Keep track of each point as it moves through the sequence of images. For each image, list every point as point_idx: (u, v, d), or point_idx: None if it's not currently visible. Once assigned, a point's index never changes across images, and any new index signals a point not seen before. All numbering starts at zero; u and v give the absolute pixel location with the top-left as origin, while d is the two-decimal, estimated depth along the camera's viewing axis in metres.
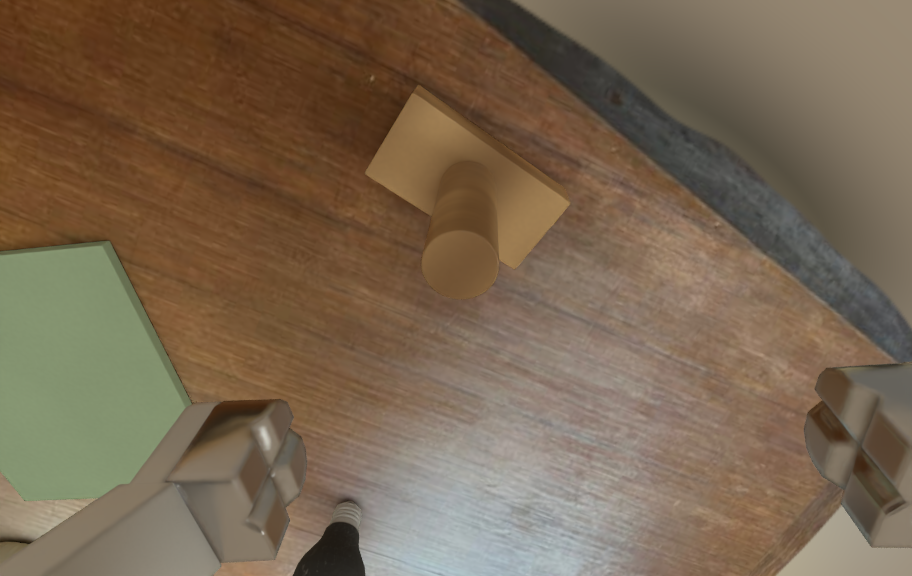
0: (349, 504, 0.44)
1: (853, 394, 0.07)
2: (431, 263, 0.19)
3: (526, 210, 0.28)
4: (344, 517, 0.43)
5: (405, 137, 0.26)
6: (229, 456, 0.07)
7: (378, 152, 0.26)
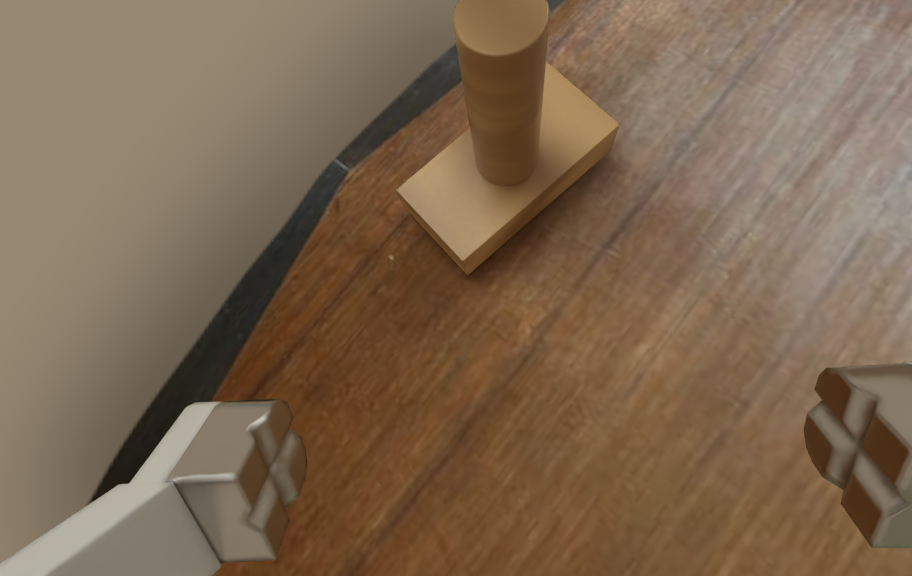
0: None
1: (853, 394, 0.07)
2: (488, 42, 0.16)
3: (545, 104, 0.25)
4: None
5: (436, 207, 0.24)
6: (229, 456, 0.07)
7: (443, 239, 0.24)
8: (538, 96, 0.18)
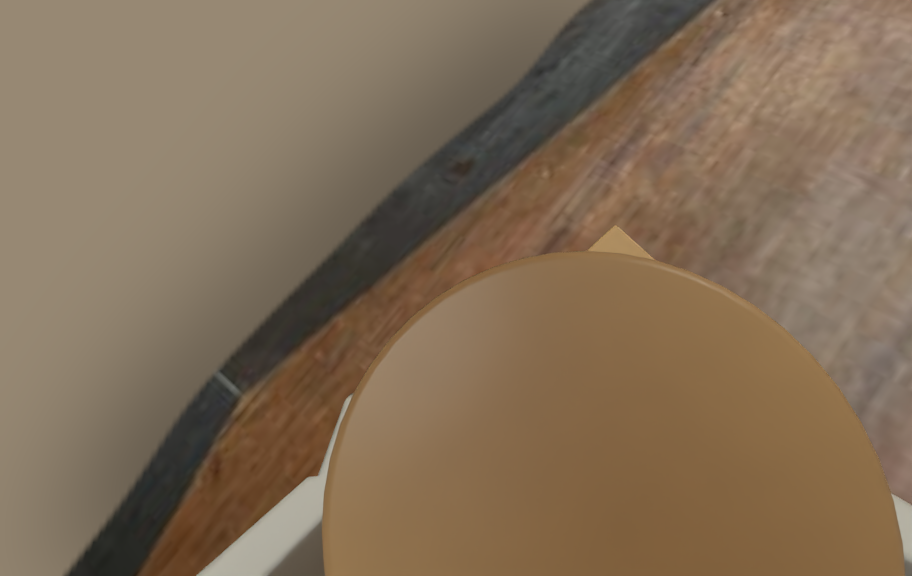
0: None
1: None
2: None
3: None
4: None
5: None
6: None
7: None
8: None
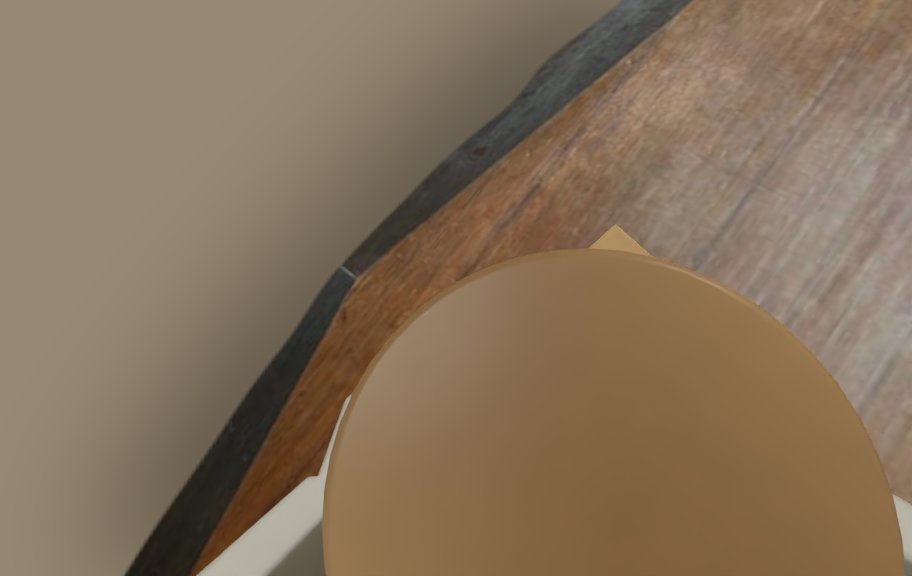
0: None
1: None
2: None
3: None
4: None
5: None
6: None
7: None
8: None
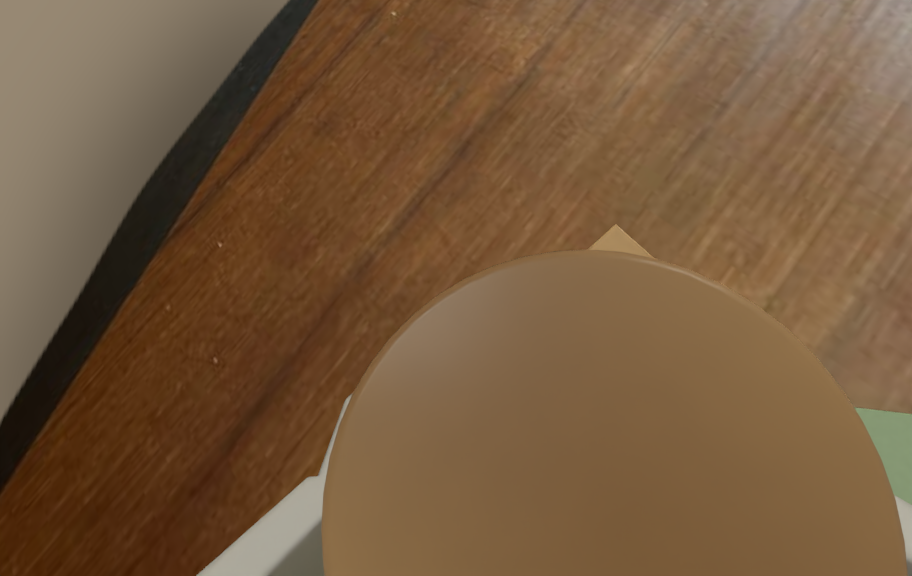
0: None
1: None
2: None
3: None
4: None
5: None
6: None
7: None
8: None
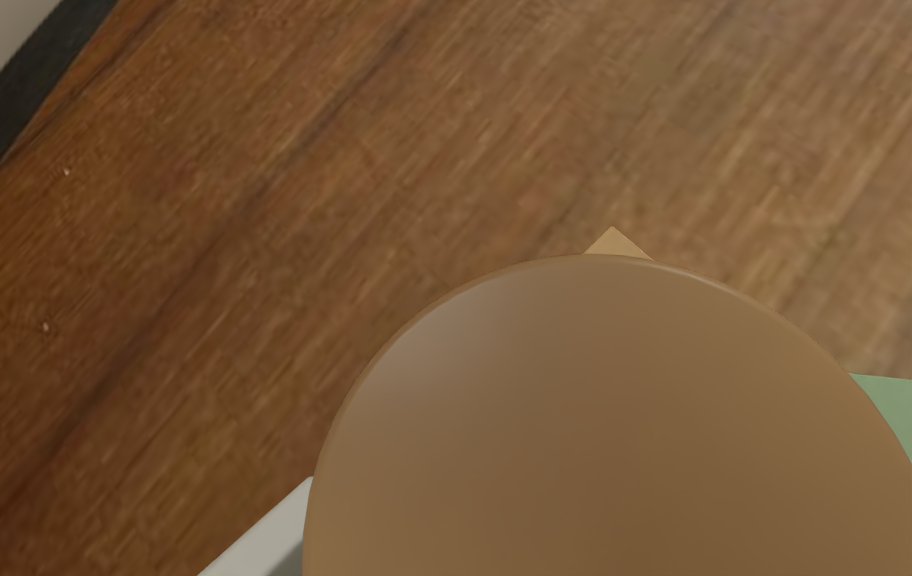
0: None
1: None
2: None
3: None
4: None
5: None
6: None
7: None
8: None
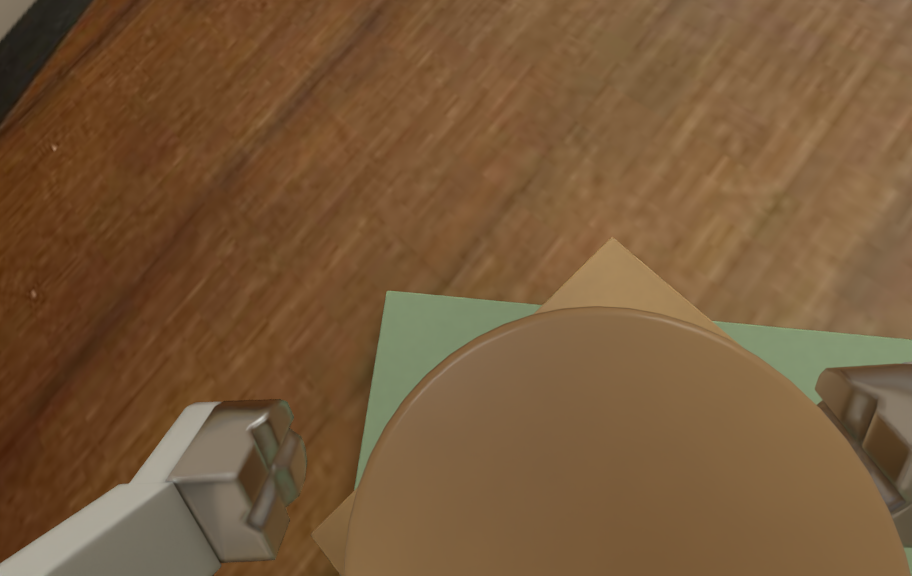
0: None
1: (853, 394, 0.07)
2: None
3: None
4: None
5: None
6: (229, 456, 0.07)
7: None
8: None
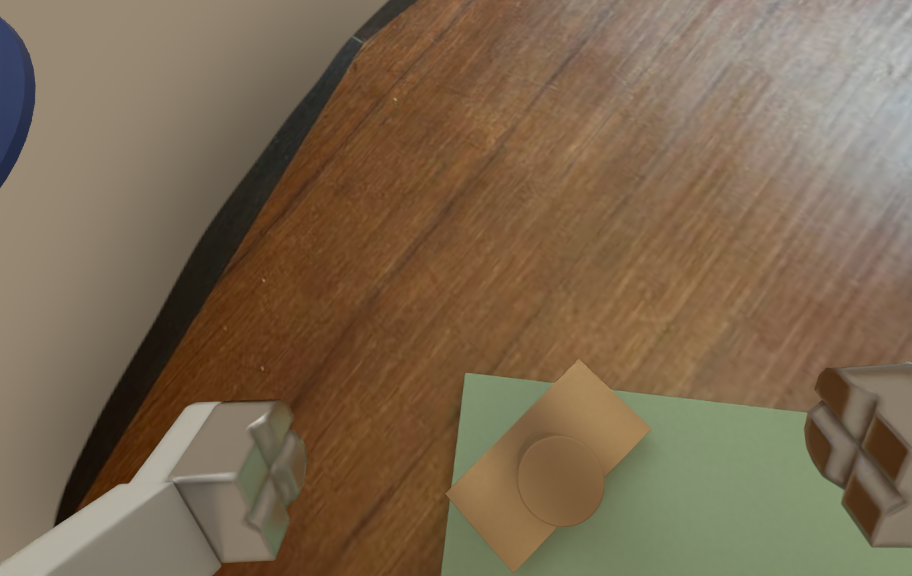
0: None
1: (853, 394, 0.07)
2: (551, 512, 0.17)
3: (580, 405, 0.27)
4: None
5: (484, 514, 0.26)
6: (229, 456, 0.07)
7: (494, 548, 0.25)
8: None
